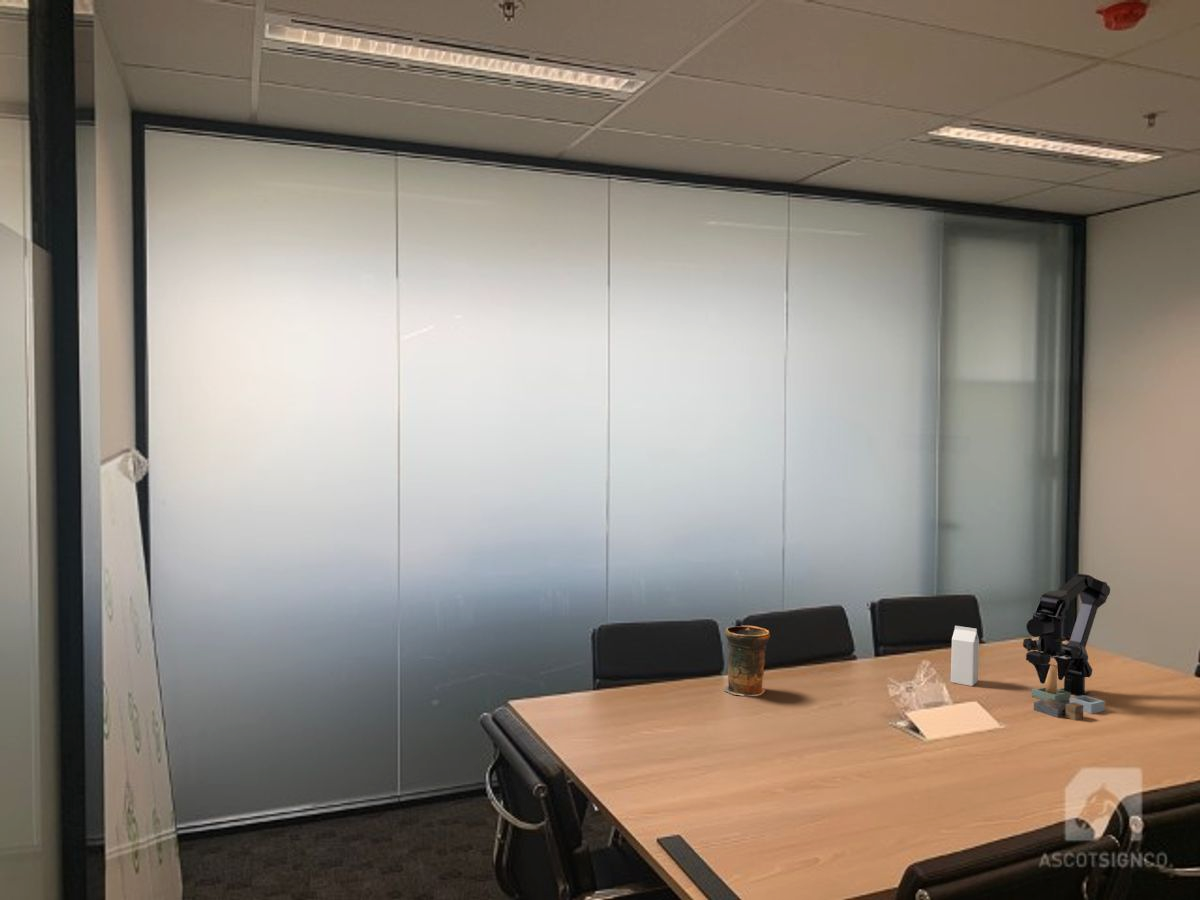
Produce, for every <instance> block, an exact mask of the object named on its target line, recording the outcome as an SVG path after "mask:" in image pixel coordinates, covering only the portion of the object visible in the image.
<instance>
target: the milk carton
mask: <svg viewBox="0 0 1200 900" xmlns="http://www.w3.org/2000/svg"><path fill="white" fill-rule="evenodd" d="M979 648H980V637H979V635H978V629H977V628H973V627H966V626H960V625H954V630H953V634H952V637H951V656H950V657H951V659H950V660H951V661H950V663H951V664H950V683H953V684H959V685H964V686H969V687H970V686H971V687H973V686H974V685H976V684H977V683H978V681H979V655H980V654H979V652H980V651H979Z"/></svg>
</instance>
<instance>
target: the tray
mask: <svg viewBox="0 0 1200 900" xmlns="http://www.w3.org/2000/svg"><path fill="white" fill-rule="evenodd" d="M1071 695H1072V694H1071V693H1070V692H1067V691H1063V690H1060V689H1058V688H1057V694H1050V693H1047V692H1046V685H1045V686H1041V687H1036V688H1031V698H1035V699H1036V700H1037V699H1038V700H1040V701H1041V700H1046V699H1054V700H1057V701H1060V702H1064V703H1066V702H1069V701H1070V698H1071Z"/></svg>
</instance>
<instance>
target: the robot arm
mask: <svg viewBox="0 0 1200 900" xmlns="http://www.w3.org/2000/svg"><path fill="white" fill-rule="evenodd" d="M1110 595H1111V588H1110V586H1109V585H1108V583H1107V582H1106V581H1102V580H1100V579H1097V578H1095V577H1093V576H1092V575H1090V574H1085V573H1084V574H1083V573H1078V572H1077V573H1074V575H1073V576H1072V578H1071V579H1070V580H1068V581H1067V582H1065V583H1064V584H1062V586H1060V587H1059V588H1058V589H1055V590H1050V591H1047V592H1045V593H1043V594H1042V595H1041V596H1040V598H1039V599H1038V602H1037V605H1036V607H1035V609H1034V612H1033V615H1032V618H1031V619H1030V620H1029V621H1028V620H1027V623H1026V630H1027V632H1028V633H1029V635H1030V636H1031V637H1035V638H1038V639H1035V640H1033V639H1032V638H1031V637H1028V638H1023V642H1022V647H1023V648H1024V649H1025V650H1026V653H1025V660H1026V661H1028V663H1030V664H1032V665H1033V667H1034V668H1035V670H1036V673H1037V676H1038V679H1039V682H1040V683H1041V684H1046V678H1047V674H1048V671H1049V668H1050V665H1052V664H1051V663H1050V662H1051V659H1054V660H1055V661H1056V666H1057V680H1059V681H1063V688H1060V689H1059V690H1063V691H1067V692H1070V693H1071V694H1070V695H1075V696H1081V695H1087V694H1090V691H1088V690H1086V678H1091V677H1092V674H1093V667H1091V664H1090V663H1089V655H1088V652H1087V647H1086V646H1087V643H1088V640H1089V637H1090V634H1091V631H1092V628H1093V624H1094V621H1095V619H1096V614H1097V611H1098V609H1099V608H1100V607H1101V606H1103V605H1104V604H1105V603H1106V602H1107V600H1108V597H1109V596H1110ZM1077 596H1079V597H1080V598H1079V599H1080V600H1081V604H1080V607H1079V609H1078V613H1077V616H1076V620H1075V623H1074V625H1073V629H1072V633H1071V636H1070V637H1069V638H1070V639H1069V641H1068V642H1067V643H1063V642H1066V639H1067V638H1066V637H1064V636H1063V635H1064V620H1066V619H1067V617H1066V615H1065V612H1066V611H1067V610H1068V609H1069V608H1070V602H1071V601H1072V600H1073V599H1075V598H1076V597H1077Z"/></svg>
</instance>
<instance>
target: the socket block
mask: <svg viewBox="0 0 1200 900" xmlns="http://www.w3.org/2000/svg"><path fill="white" fill-rule="evenodd" d="M1068 702H1069V703H1073V702H1075V703H1078V704H1082V705H1083V713H1087V714H1091V715H1092V714H1097V713H1102V712H1105V711H1106V701H1105V700H1102V699H1099V698H1095V697H1093V696H1088V695H1086V694H1083V695H1075V696H1070V701H1068Z"/></svg>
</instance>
